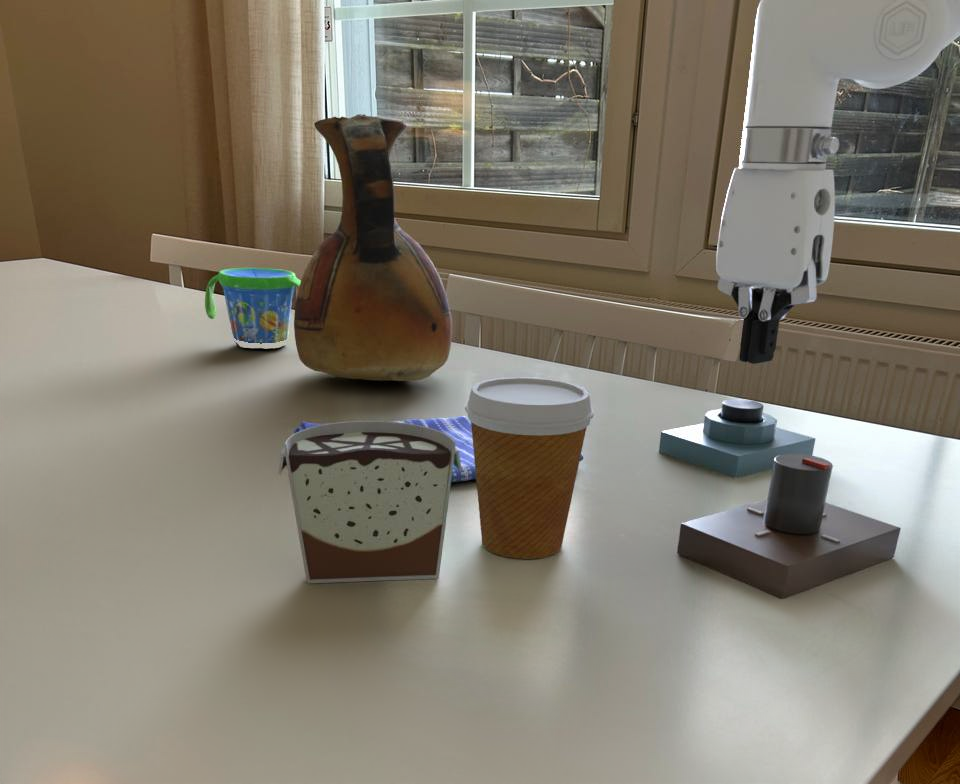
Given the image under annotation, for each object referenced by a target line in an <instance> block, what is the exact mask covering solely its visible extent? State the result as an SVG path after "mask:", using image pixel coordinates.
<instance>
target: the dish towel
mask: <svg viewBox="0 0 960 784" xmlns="http://www.w3.org/2000/svg"><path fill="white" fill-rule="evenodd" d="M391 422H399V423H407V424H414V425H419V426H424V427H428V428H432V429H435V430H438V431H441V432H443V433H445V434H447V435H448V436H450V437H451V438H452V439H453V440H454V441H455V447H456V448H457V450H458V451H459V456H460V462H461V467H462V471H459V469H458V468H457V467H456V466H454V465H453V470H452V478H451V483H457V482H465V481H466V482H467V481H471V480H472V481H473V480H476V471H475V460H474V449H473V439H472V428H471V421H470V420H469V419H468V415H460V416H457V417H456V416H455V417H434V418H424V419H422V418H410V419H406V420H404V421H403V420H393V421H391ZM300 424H301V425H299V426H296V428H295V429H294V430H293V434H295V433H297V432H299V431H301V430H304V429H307V428H311V427H315V426H319V425H325V424H326V423H313V422H308V421H305V420H303V421H301V423H300ZM583 460H584V456H583V455H582V454H581V456H580V461H579V463H580V462H582V461H583Z"/></svg>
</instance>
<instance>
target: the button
mask: <svg viewBox="0 0 960 784" xmlns="http://www.w3.org/2000/svg"><path fill="white" fill-rule="evenodd" d="M721 409H722V410H721V417H720V418H721V419H723V420H726V421H730V422H737V423H760V422H761V419H762V413H764V412H763V411H764V405H763V403H761V402H758V401H755V400H750V399H744V398H730V399H726V400H723V402H722V404H721Z"/></svg>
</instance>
